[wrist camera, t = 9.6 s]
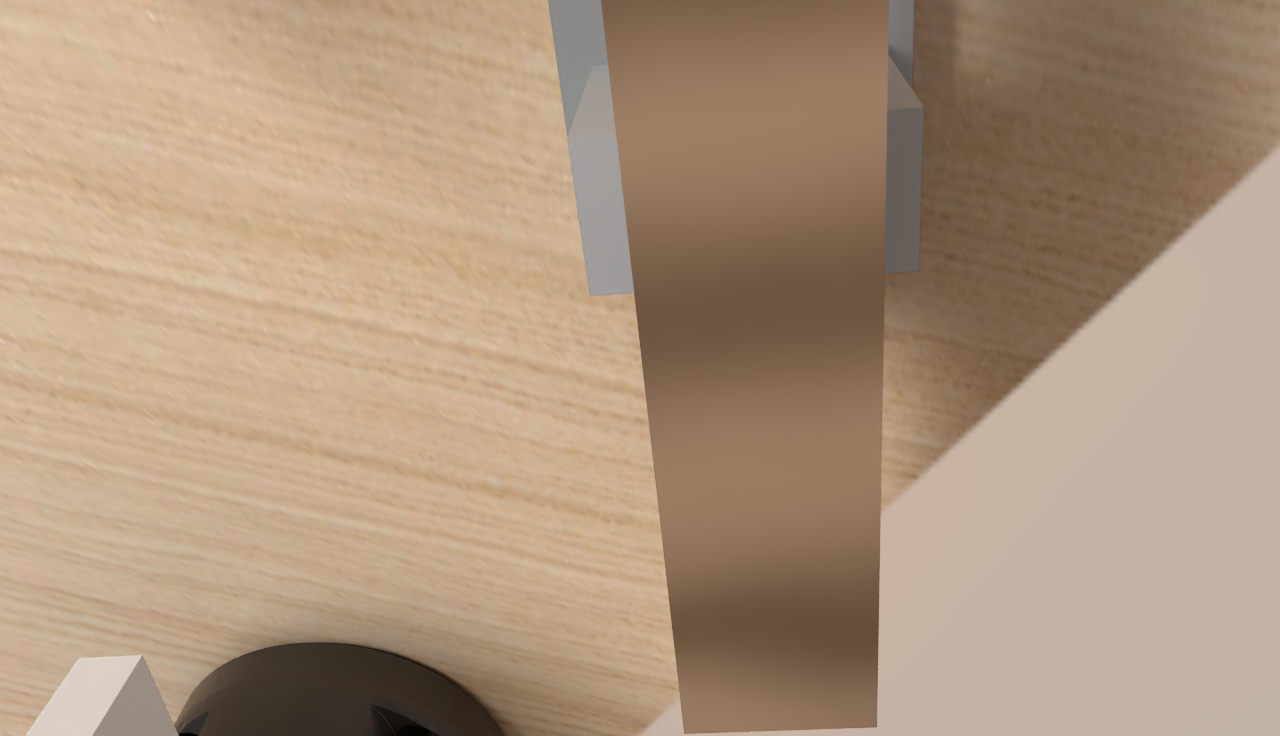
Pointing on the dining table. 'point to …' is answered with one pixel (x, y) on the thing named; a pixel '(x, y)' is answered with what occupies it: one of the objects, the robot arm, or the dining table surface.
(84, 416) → the dining table surface
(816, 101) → the bar
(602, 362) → the dining table surface
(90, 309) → the dining table surface
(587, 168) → the grey stepped block
